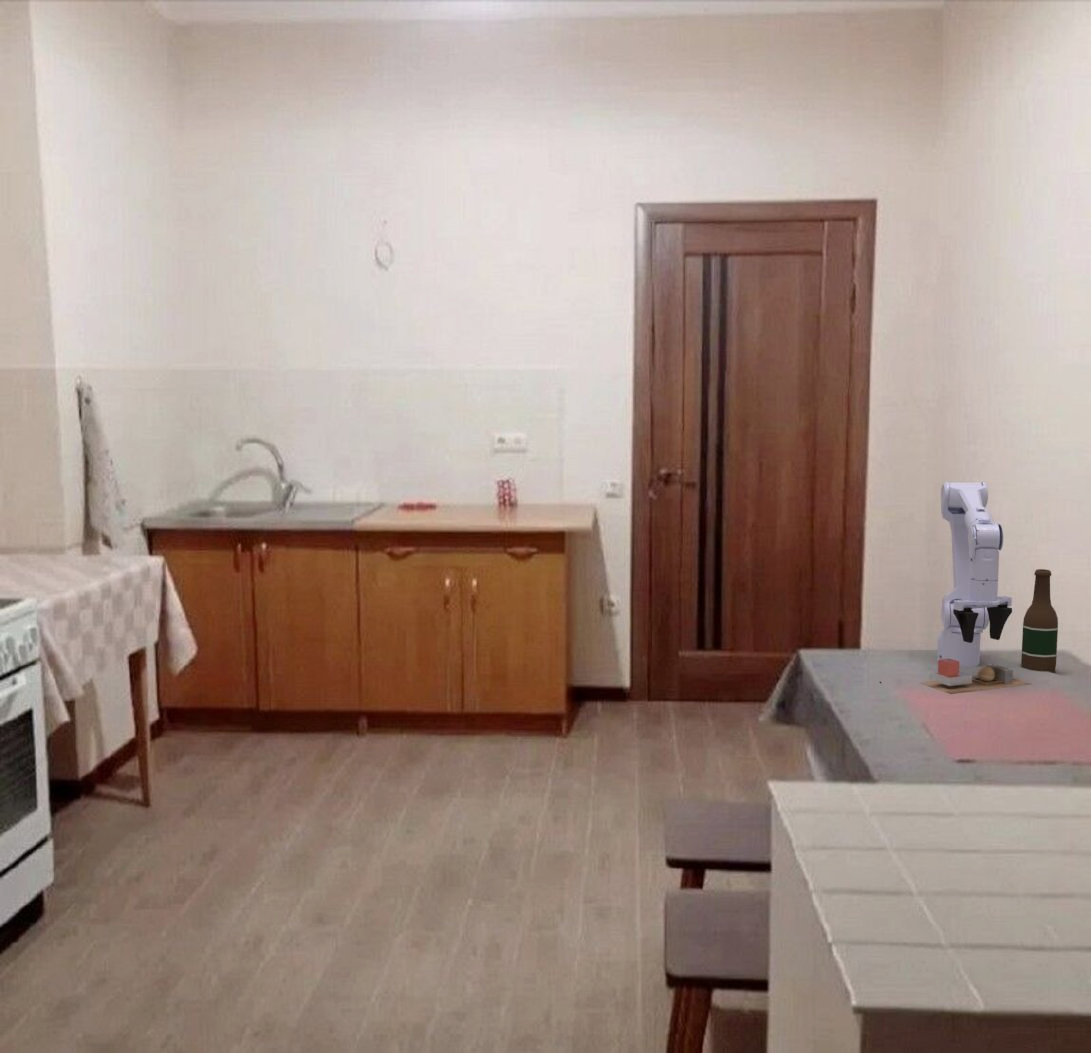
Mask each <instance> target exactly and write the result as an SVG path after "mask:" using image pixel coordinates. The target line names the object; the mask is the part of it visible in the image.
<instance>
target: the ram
mask: <svg viewBox="0 0 1091 1053" xmlns="http://www.w3.org/2000/svg"><path fill="white" fill-rule="evenodd" d="M937 662H938V663H937V672H935V677H934V679H935V680H934V681H936V682H939V683H942V684H945V685H948V686H955V685H963V684H971V683H972V676H973V675H972V674H969V673H966V672H963V671H960V666H959V661H957V660H953V659H950V658H948V659H939V660H938V661H937Z"/></svg>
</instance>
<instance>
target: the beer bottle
mask: <svg viewBox="0 0 1091 1053" xmlns="http://www.w3.org/2000/svg"><path fill="white" fill-rule="evenodd" d="M1034 576H1035V578H1034V579H1035V580H1034V587H1033V588H1034V589H1033V596H1032V597H1033V598H1032V602H1031V604H1030V606H1029V607H1028V608H1027V610H1026V612H1025V615H1024V617H1023V621H1022V634H1021V635H1022V636H1021V639H1022V640H1021V641H1022V642H1021V659H1020V663H1021V664H1020V668H1023V669H1026V670H1028V671H1036V672H1049V673H1051V674H1055V673H1056V668H1057V652H1058V637H1059V636H1058V633H1059V632H1058V631H1059V621H1058V620H1059V619H1058V618H1059V617H1058V616H1057V611H1056V610H1055V608H1054V607H1053V606H1052V602H1051V601H1052V600H1051V576H1052V571H1051V570H1050V569H1043V568H1039V569H1036V570H1034Z"/></svg>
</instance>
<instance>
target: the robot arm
mask: <svg viewBox="0 0 1091 1053" xmlns="http://www.w3.org/2000/svg"><path fill="white" fill-rule="evenodd" d="M988 500H989V489H988V485H987V483H986V482H984V481H982V482H981V481H980V482H949V481H944V483H942V485H941V488H940V512H941V513H940V514H941V516H942V517H941V518H942V519H943V520H945V521H947V522H949V523H948V524H949V527H950V530H951V532H950V533H951V551H952V554H951V555H952V569H953V570H952V574H953V589H952V590H950V591H949V592H947V593H946V594H944V596H943V598H942V600H941V611H940V612H941V614H940V617H941V624H942V627H943V629H941V631H940V632H939V634H938V637H937V647H936V648H937V651H936V652H937V653H936V654H937V655H936V662H938V660H939V659H948V658H950V659H953V660H957V661H959V667H965V668H967V667H978V666H980V663H981V662H980V661H981V660H980V659H981V658H980V656H981V655H980V654H981V636H982V633H984V631H985V630H986V629H987V628H988V626H989V637H990V639H991V640H996V641H999V640H1000V639H1001V637H1002V636H1001V635H1002V632H1003V630H1004V628H1005V625H1006V622H1007V620H1008V619H1009V617H1010V615H1011V614H1012V613H1013V608H1012V604H1013V602H1012V601H1013V600H1012V599H1013V597H1011V596H1006V595H1002V596H998V594H999V593H998V592H999V591H998V590H999V588H998V587H999V568H1000V567H999V566H1000V564H999V563H1000V551H1002V549H1003V546H1004V529H1003V526H1002V525H1003V524H1001V523H996V522H995V521H994V519H993V516H992V513H991V512H990V510H989V509H987V505H988V502H989V501H988Z"/></svg>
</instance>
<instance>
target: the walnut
mask: <svg viewBox="0 0 1091 1053" xmlns="http://www.w3.org/2000/svg"><path fill="white" fill-rule="evenodd" d="M977 676H978V677H979V679H980V680H981V681H983V682H990V681H992V680H993V679H994V677H995V672H994V670H993V669H992V668H991V667H988V666H986V665H985V666H982V667H980V668H979V670H978V672H977Z"/></svg>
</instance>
